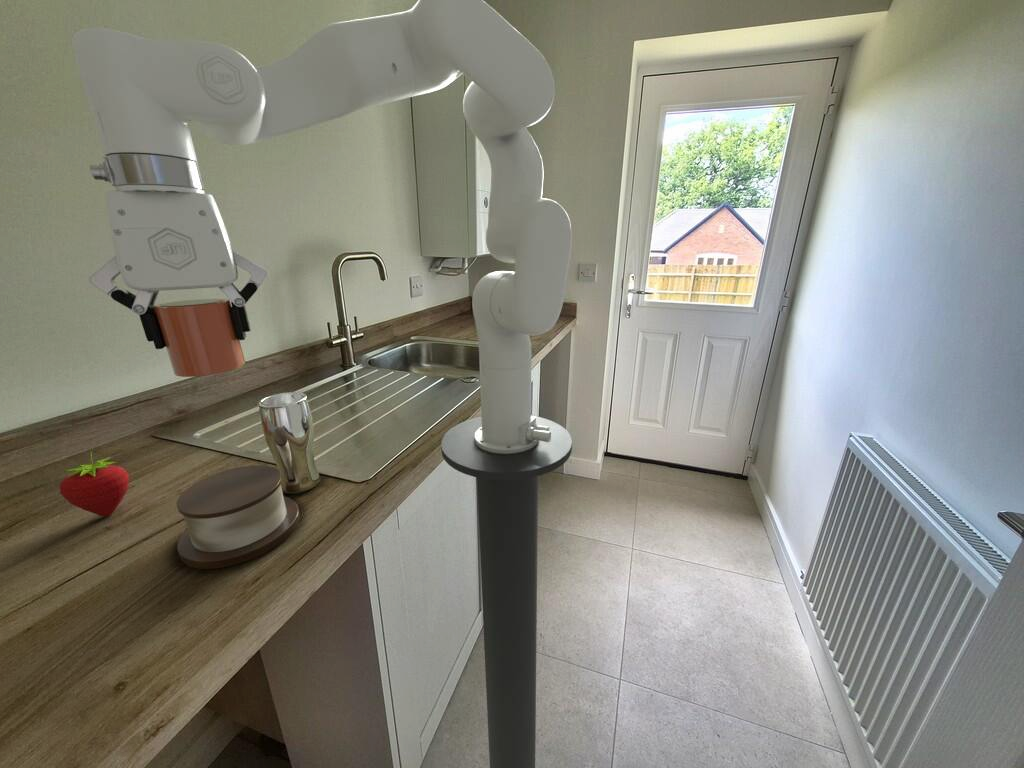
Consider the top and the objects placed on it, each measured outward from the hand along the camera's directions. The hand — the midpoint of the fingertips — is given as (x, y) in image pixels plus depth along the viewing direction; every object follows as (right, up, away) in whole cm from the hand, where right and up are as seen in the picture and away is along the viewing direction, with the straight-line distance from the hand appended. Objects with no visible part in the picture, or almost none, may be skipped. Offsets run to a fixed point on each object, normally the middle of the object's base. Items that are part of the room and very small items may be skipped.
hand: (203, 341), depth 49 cm
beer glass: (+2, -22, +18) cm, 28 cm away
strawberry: (-22, -25, +11) cm, 35 cm away
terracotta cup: (0, -3, +1) cm, 3 cm away
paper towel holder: (0, -26, +7) cm, 26 cm away
